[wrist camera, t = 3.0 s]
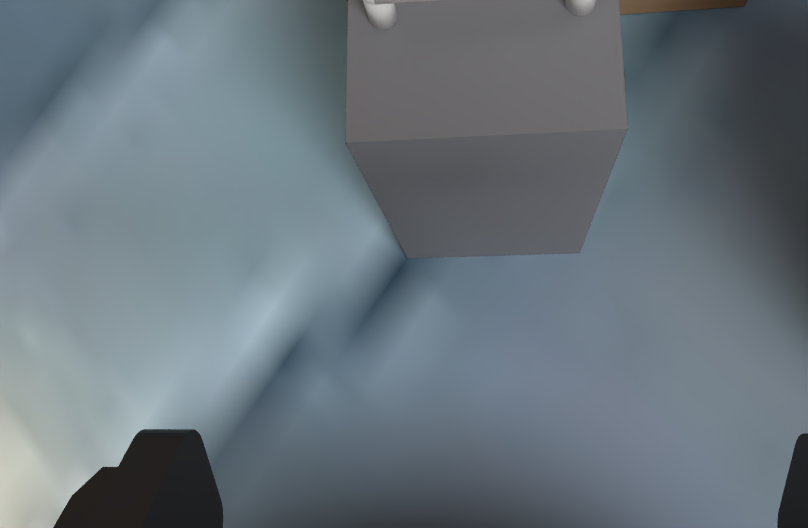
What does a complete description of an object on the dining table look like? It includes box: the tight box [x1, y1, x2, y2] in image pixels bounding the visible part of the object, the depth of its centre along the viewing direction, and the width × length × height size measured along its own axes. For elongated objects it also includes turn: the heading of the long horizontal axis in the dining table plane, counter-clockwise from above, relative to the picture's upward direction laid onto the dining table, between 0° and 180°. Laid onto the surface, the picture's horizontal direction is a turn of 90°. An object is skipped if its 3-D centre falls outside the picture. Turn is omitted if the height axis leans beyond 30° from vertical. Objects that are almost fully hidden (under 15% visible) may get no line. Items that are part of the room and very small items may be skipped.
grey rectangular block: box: [345, 0, 628, 258], centre depth 20 cm, size 6×6×11 cm
